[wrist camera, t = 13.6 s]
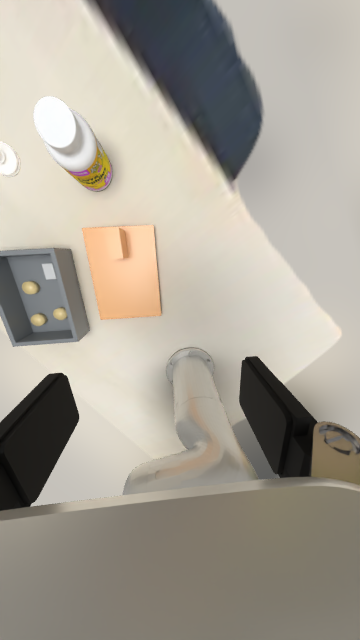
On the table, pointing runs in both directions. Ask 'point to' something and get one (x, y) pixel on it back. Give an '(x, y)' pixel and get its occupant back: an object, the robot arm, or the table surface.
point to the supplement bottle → (72, 143)
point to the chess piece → (8, 160)
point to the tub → (41, 297)
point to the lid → (124, 270)
